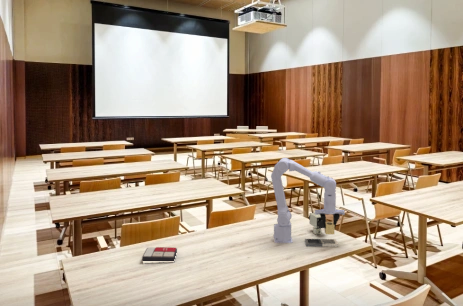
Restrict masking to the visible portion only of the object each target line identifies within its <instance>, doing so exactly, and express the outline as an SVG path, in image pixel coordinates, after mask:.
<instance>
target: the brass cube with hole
mask: <svg viewBox="0 0 463 306" xmlns="http://www.w3.org/2000/svg"><path fill="white" fill-rule="evenodd" d="M334 226H335V225H334V223H333V221H326V229H324V233H325V235H335V229H334Z"/></svg>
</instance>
